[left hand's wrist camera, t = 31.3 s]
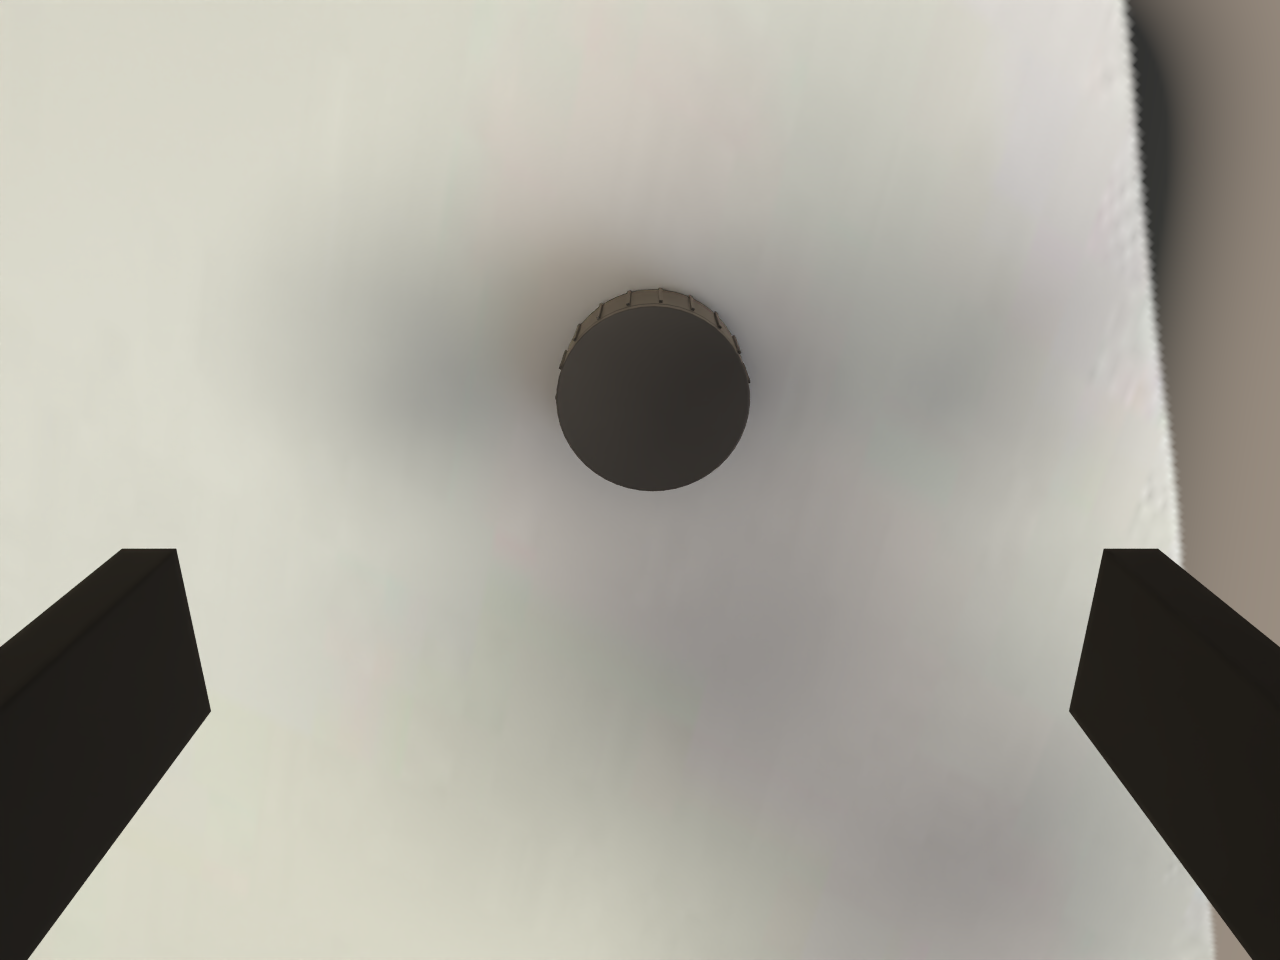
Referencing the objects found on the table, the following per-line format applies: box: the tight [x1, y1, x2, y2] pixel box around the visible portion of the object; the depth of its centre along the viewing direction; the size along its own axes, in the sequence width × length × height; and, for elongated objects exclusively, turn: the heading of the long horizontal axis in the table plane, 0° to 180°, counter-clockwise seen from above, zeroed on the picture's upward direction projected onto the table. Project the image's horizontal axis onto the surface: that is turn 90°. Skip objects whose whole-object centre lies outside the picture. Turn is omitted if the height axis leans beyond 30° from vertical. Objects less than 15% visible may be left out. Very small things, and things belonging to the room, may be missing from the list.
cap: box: [556, 288, 750, 491], centre depth 22 cm, size 5×5×2 cm
